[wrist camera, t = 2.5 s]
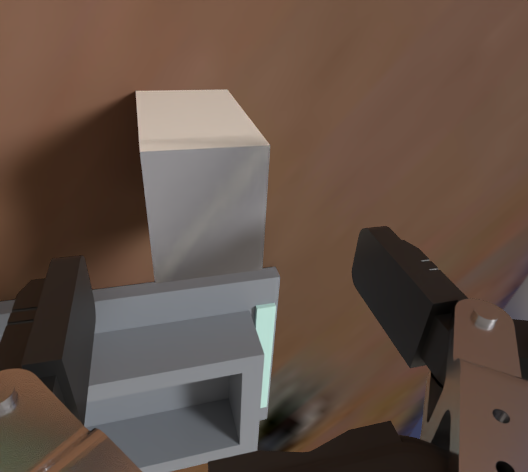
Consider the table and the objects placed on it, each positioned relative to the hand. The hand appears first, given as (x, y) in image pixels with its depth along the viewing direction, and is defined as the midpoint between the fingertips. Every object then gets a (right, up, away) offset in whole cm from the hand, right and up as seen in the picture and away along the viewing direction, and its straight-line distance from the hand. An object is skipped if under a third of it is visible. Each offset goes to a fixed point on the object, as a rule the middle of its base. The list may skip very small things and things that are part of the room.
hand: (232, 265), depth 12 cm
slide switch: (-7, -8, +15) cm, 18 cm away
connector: (-3, +5, +8) cm, 10 cm away
